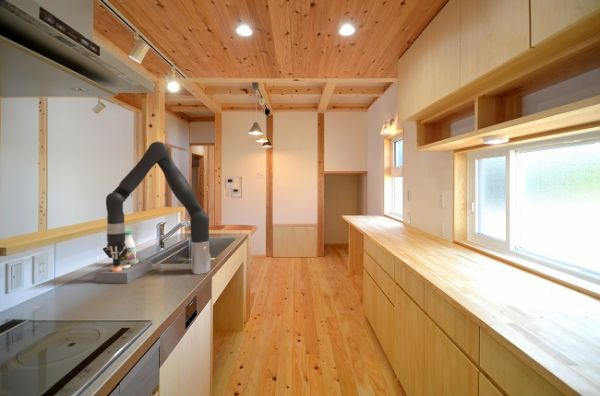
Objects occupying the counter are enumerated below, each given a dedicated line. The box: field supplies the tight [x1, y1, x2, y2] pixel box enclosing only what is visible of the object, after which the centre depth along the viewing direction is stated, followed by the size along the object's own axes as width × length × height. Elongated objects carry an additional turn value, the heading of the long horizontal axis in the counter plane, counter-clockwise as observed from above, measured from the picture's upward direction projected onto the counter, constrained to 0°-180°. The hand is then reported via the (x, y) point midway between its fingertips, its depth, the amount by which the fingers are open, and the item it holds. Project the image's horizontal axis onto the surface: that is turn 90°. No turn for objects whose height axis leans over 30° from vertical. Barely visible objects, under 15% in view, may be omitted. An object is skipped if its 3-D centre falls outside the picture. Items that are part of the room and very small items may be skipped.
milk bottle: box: [120, 230, 137, 262], centre depth 160 cm, size 8×8×20 cm
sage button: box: [129, 258, 139, 264], centre depth 149 cm, size 4×4×4 cm
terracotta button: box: [112, 266, 122, 272], centre depth 136 cm, size 4×4×4 cm
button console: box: [94, 259, 154, 284], centre depth 142 cm, size 16×21×5 cm
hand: (116, 266), depth 135 cm, fingers closed
